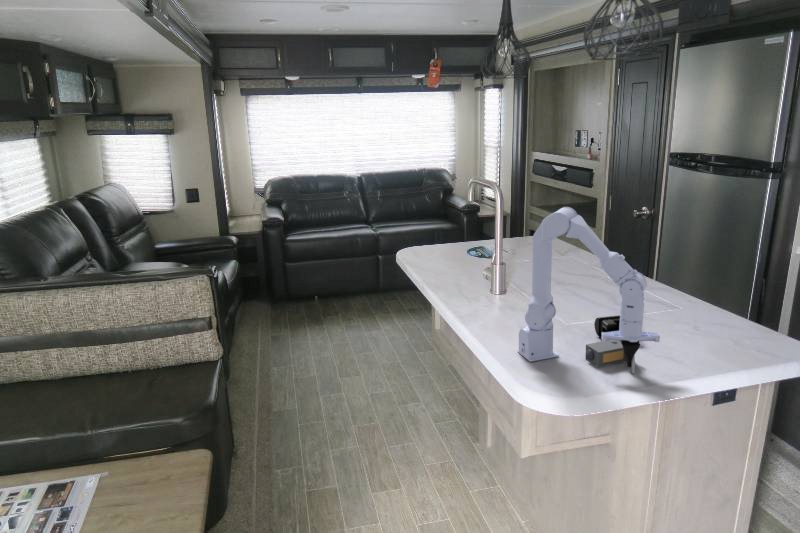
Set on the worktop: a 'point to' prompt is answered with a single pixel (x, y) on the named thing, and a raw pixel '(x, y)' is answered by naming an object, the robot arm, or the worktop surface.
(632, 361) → the side cover
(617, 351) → the camera case
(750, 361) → the worktop surface
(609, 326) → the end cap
